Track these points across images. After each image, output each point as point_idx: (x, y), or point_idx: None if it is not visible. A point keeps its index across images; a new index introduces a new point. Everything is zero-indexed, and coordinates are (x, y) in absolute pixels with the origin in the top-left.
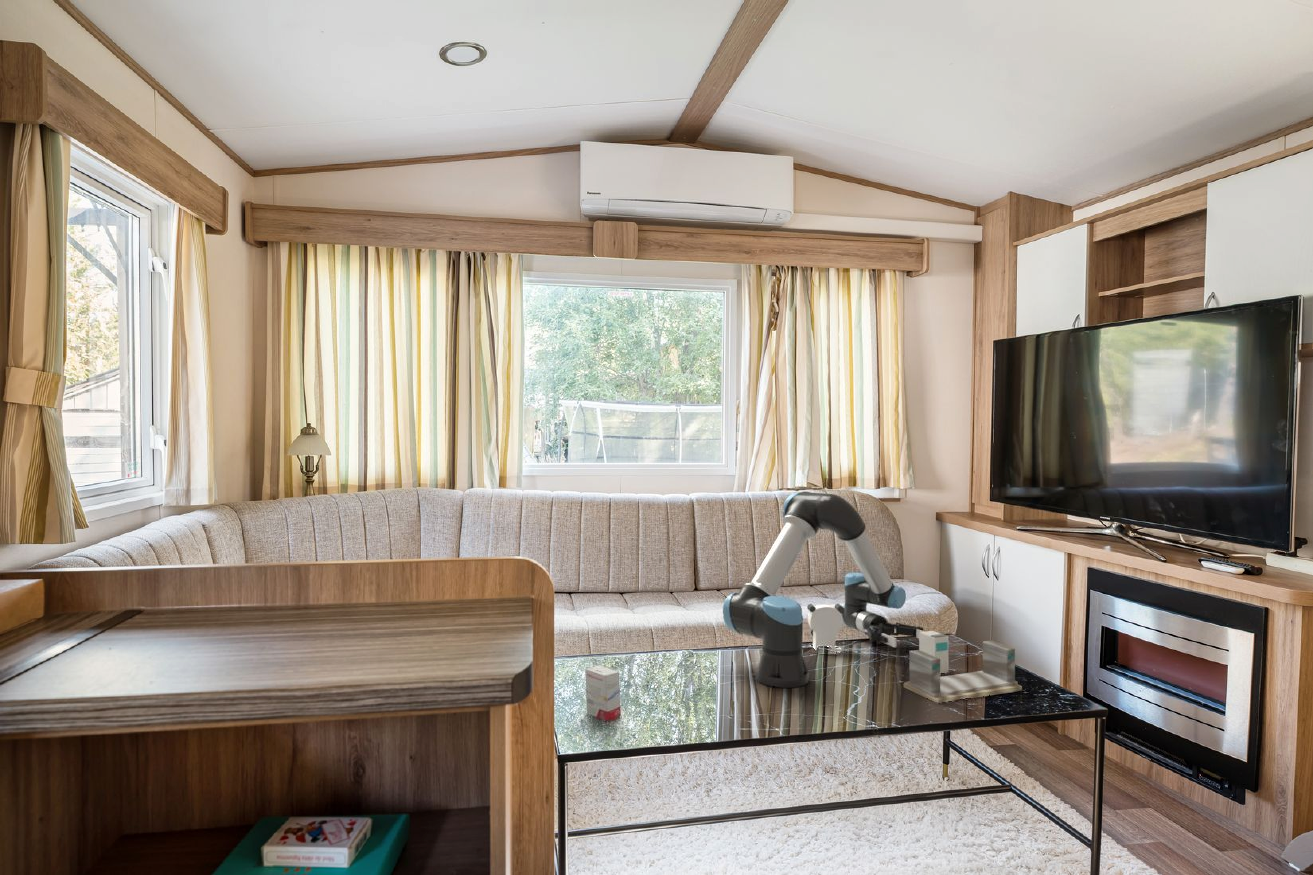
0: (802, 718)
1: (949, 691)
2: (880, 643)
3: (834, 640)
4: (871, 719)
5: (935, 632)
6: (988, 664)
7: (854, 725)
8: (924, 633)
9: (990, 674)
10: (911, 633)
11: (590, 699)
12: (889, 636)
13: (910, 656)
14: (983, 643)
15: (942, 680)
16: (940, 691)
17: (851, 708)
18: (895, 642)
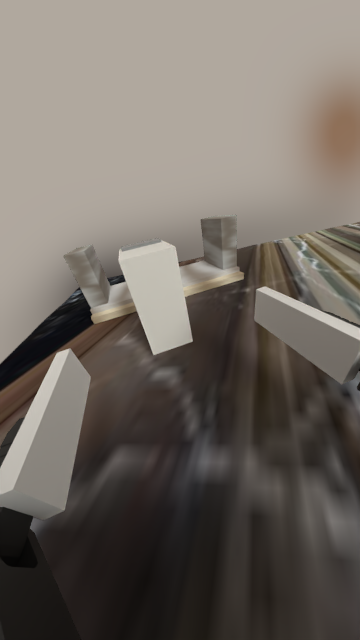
0: (345, 232)
1: (194, 263)
2: (358, 386)
3: None
4: (278, 243)
5: (124, 255)
6: (102, 284)
7: (290, 237)
8: (164, 246)
9: (108, 296)
10: (45, 592)
11: None
12: (295, 302)
13: (235, 224)
14: (85, 254)
15: (188, 277)
16: (204, 261)
17: (303, 245)
18: (259, 302)
